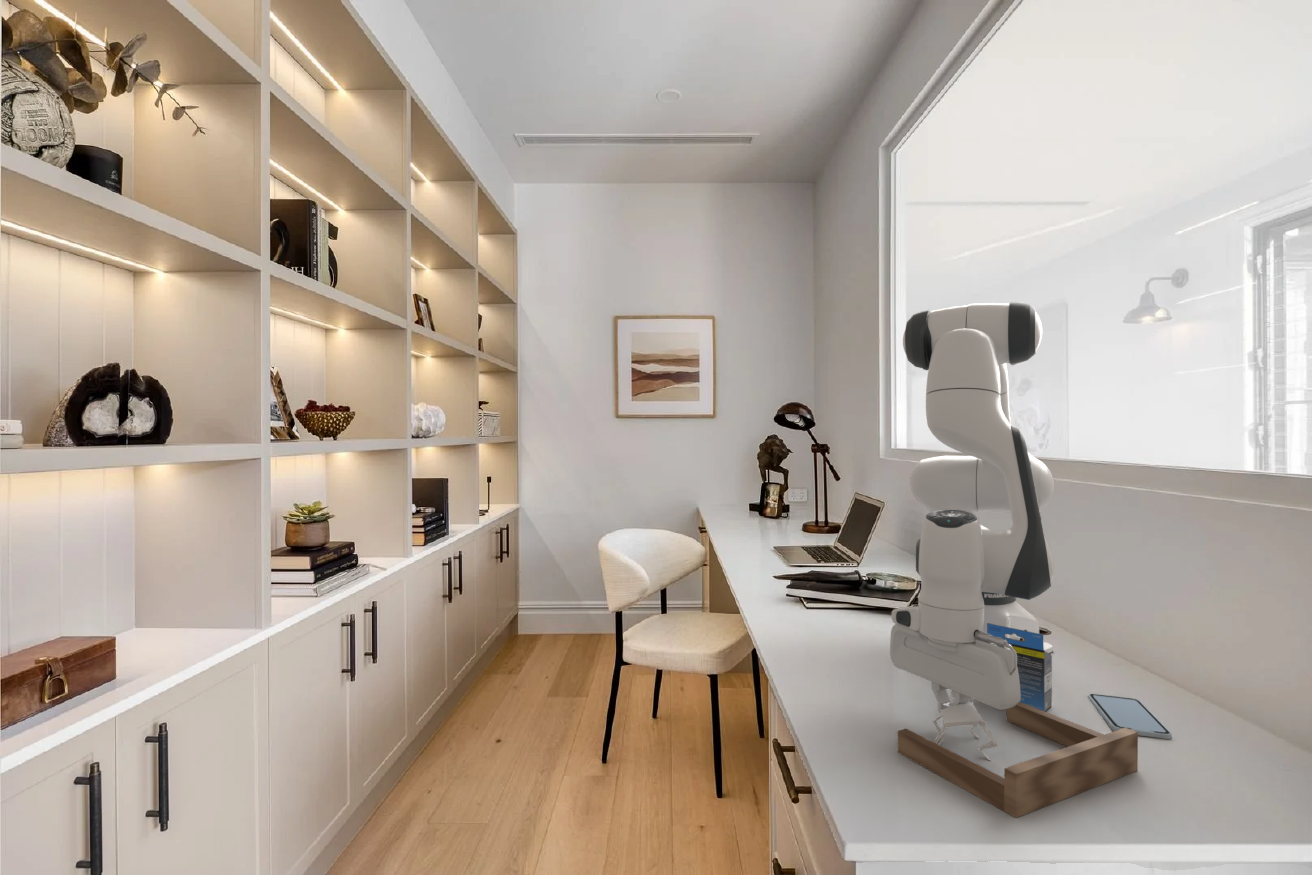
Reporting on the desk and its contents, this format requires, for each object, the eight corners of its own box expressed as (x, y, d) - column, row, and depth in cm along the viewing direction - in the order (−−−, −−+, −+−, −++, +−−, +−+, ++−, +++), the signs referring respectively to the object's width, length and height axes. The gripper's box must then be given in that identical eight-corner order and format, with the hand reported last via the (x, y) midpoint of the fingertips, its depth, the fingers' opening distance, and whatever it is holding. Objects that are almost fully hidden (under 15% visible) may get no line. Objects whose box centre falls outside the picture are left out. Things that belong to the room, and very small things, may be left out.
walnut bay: (1013, 719, 103) (1013, 686, 103) (1137, 770, 87) (1137, 732, 87) (897, 752, 92) (897, 715, 92) (1016, 817, 77) (1016, 774, 77)
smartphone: (1138, 698, 110) (1174, 735, 96) (1138, 704, 110) (1174, 742, 96) (1086, 692, 113) (1113, 727, 99) (1086, 698, 113) (1113, 734, 99)
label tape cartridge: (1053, 706, 108) (1053, 629, 108) (1044, 713, 105) (1044, 634, 105) (995, 690, 114) (995, 618, 114) (985, 696, 112) (985, 622, 112)
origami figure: (997, 773, 86) (998, 735, 86) (927, 757, 91) (928, 720, 90) (1000, 737, 97) (1001, 703, 97) (937, 723, 101) (938, 691, 101)
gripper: (1031, 639, 91) (1031, 741, 91) (912, 604, 109) (912, 689, 109) (1000, 645, 88) (999, 751, 88) (883, 608, 106) (883, 696, 106)
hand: (950, 716), depth 99 cm, fingers closed
